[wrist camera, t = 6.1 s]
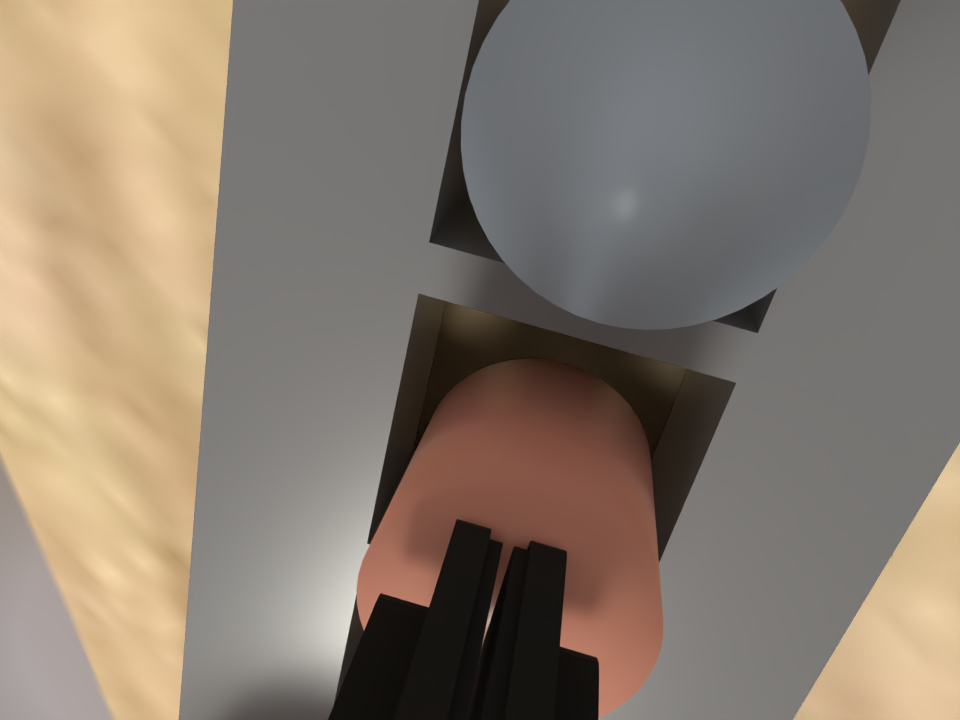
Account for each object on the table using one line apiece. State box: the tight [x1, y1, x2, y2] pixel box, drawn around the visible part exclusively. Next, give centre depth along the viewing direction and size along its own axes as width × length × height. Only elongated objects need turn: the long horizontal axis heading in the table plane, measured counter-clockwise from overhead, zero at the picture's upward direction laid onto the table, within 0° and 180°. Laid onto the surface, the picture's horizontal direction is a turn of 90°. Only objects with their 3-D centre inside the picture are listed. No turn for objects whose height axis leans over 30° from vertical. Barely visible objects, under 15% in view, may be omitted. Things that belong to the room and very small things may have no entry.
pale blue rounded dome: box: [461, 0, 871, 330], centre depth 11 cm, size 5×5×4 cm
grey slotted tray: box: [179, 0, 960, 720], centre depth 17 cm, size 14×23×4 cm, turn 167°
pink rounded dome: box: [356, 359, 663, 718], centre depth 13 cm, size 5×5×4 cm
